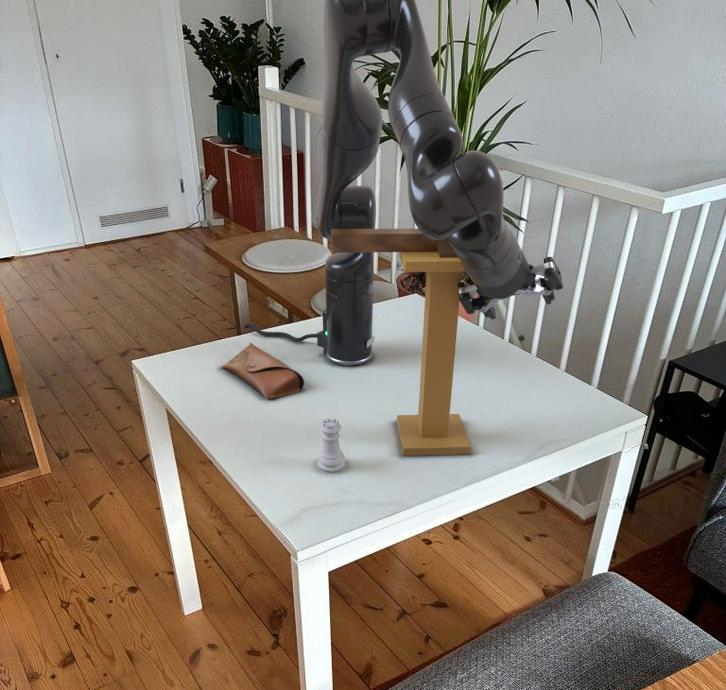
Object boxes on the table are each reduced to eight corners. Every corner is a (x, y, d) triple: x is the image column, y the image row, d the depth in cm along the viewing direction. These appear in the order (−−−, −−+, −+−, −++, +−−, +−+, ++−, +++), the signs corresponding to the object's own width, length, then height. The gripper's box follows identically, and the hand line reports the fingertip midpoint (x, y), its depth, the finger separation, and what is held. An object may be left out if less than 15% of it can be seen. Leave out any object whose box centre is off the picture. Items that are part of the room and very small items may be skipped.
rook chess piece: (317, 458, 119) (315, 415, 115) (344, 457, 119) (344, 414, 115) (318, 473, 115) (316, 430, 111) (346, 472, 116) (346, 428, 111)
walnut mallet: (464, 240, 110) (467, 210, 107) (474, 257, 103) (477, 225, 101) (331, 241, 109) (330, 211, 106) (332, 258, 102) (332, 226, 100)
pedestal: (464, 420, 130) (482, 237, 111) (475, 454, 121) (497, 260, 102) (390, 422, 129) (397, 238, 111) (397, 456, 120) (405, 261, 102)
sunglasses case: (217, 366, 146) (229, 334, 144) (245, 374, 151) (257, 343, 149) (267, 400, 134) (281, 366, 133) (295, 407, 139) (309, 375, 138)
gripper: (542, 217, 96) (563, 270, 110) (439, 250, 101) (472, 296, 116) (551, 270, 94) (571, 316, 109) (445, 300, 100) (478, 340, 114)
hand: (520, 306), depth 112 cm, fingers open, 8 cm apart
